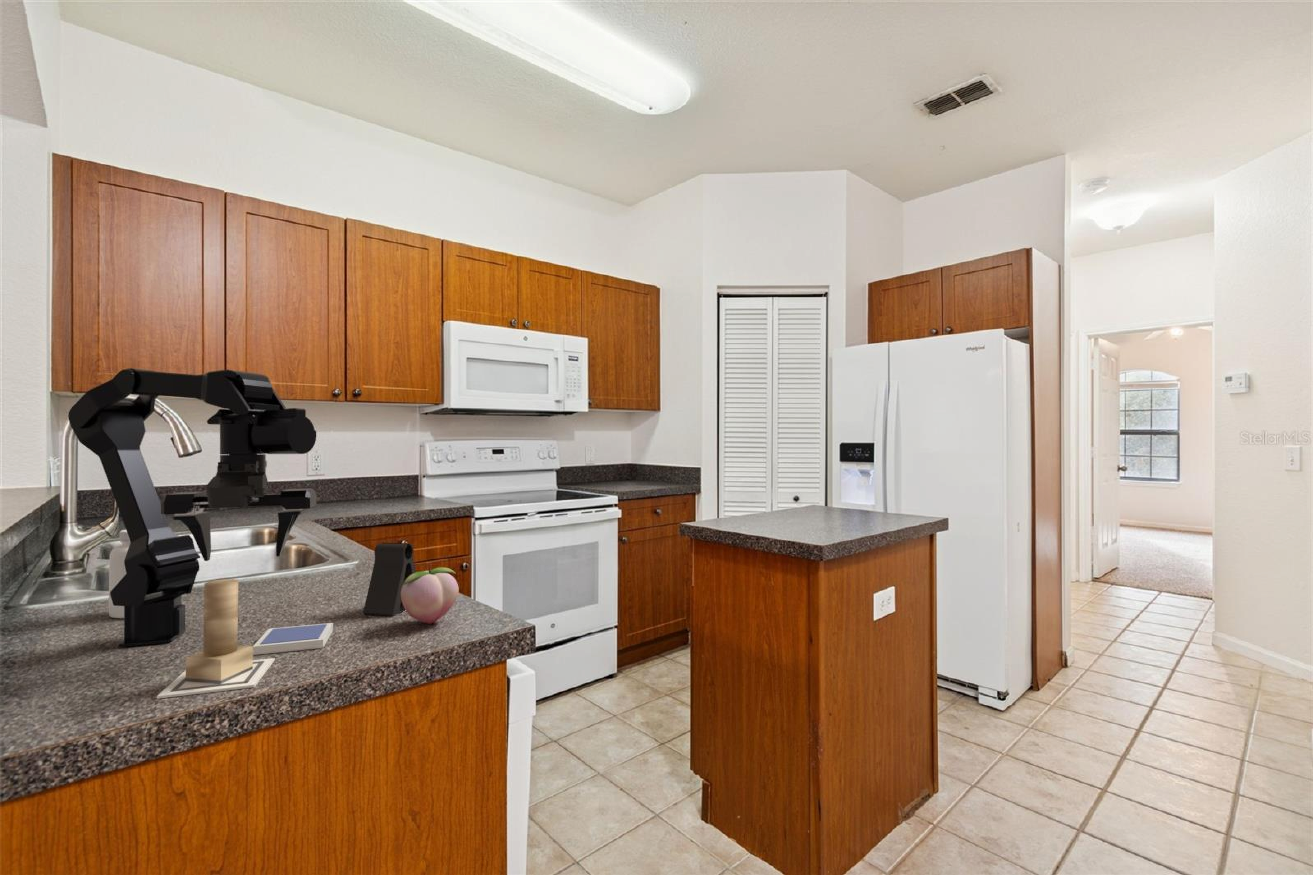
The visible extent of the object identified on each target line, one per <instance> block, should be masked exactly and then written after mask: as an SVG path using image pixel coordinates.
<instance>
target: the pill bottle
mask: <svg viewBox="0 0 1313 875" xmlns="http://www.w3.org/2000/svg"><path fill="white" fill-rule="evenodd" d="M118 537H119V542H120V543H121V544H120V545H117V546H115V547H114V548H112V550H111V551H110V552H109V553H110V554H109V563H108V564H109V568H108V569H109V570H108V571H109V573H108V616H109V617H110V618H113V619H124V606H114V605H113V602H112V599H111V595H110V592H111V590H112V589H113V588H114V587H115V586H116V585H117V584H118V583H119V581H120V580H121V579H122V578H123V577H124V576H125V575H126V569H125V564H124V560H125V557H126V554H127V551H128V548H129V546H130V538H129V536H128V533H127V530H126V529H122V530H120V531H119V536H118Z"/></svg>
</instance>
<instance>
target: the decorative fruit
mask: <svg viewBox="0 0 1313 875" xmlns="http://www.w3.org/2000/svg"><path fill="white" fill-rule="evenodd" d="M431 566H432V564H431V563H428V570H424V571H416V573H413V574H411V575H410V576H409V577H408V578H407V579H406V580H405V582H404V584H403V587H402V589H401V600H402V604H403V606H404V608H405V610H406V611H405V612H406V613H407V614H408V615H409V616H410V617H411V618H413V619H414V620H416V621H419V622H421V623H426V624H428V625H430V624H433V623H435V622H437V621H439V620H440V619H441V618H442V617H444V616H445V615H446V614H447V613H448V612H449V611H450V610H451V609H452V607H453V606H454V605H455V603H456V601H457V599H458V596H459V592H460V589H459V585H458V581H457V580H456V579H455V577H454V576H453V575H451V574H454V575H456V574H457V573H456V572H455V571H454V570H452V569H451V568H449V567H436V568H433V569H432V568H431ZM450 573H451V574H450Z"/></svg>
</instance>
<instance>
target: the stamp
mask: <svg viewBox="0 0 1313 875" xmlns="http://www.w3.org/2000/svg"><path fill="white" fill-rule="evenodd" d="M203 586H204V588H203V590H204V591H203V593H204V594H203V645H202V646H203V648H202V651H199V652H196V653H193V654H192V655H188V656H186V657H185V670H186V681H190V682H203V683H216V684H222V683H224V682H226V681H228V680H230V679H232V678H235V677H237V676H239V675H241V674H243V673H245V672H248V671H250V670H252V669H253V660H254V655H253V646H249V645H238V628H239V626H238V625H239V624H238V623H239V622H238V620H239V619H238V618H239V580H238V579H234V578H233V579H231V578H227V579H226V578H225V579H217V580H212V581H210V580H209V581H207V582H205V583H204V585H203Z"/></svg>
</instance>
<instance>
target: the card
mask: <svg viewBox="0 0 1313 875" xmlns="http://www.w3.org/2000/svg"><path fill="white" fill-rule="evenodd" d="M275 659H276V658H274V657H272V658H265V659H253V669H252V670H250V671H248V672H245V673H243V674H241V675H239V676H237V677H235V678H232V679H230V680H228V681H226V682H224V683H222V684H216V683H203V682H190V681H186V669H185V670H184V671H183V672H182V673H180V675H178V676H177V677H176V678H175V679H174V680H173V681H171V683H170V684H169V685H167V686H166V687H165V688H164V689H163V690H162V691H161V692H160V693H159V694H158V695H157V696H156V700H157V699H158V700H159V699H166V698H173V697H175V698H177V697H183V696H191V695H192V696H193V695H199V694H208V693H217V692H224V691H225V692H226V691H233V690H240V689H241V690H242V689H250V688H251V689H252V688H255V687H256V686H257V685H258V683H259V682H260V681H261V679H262V678H263V676H265V674H266V673H267V671H268V670H269V669H270V667H271V666H272V665H273V663H274V662H275Z"/></svg>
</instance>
